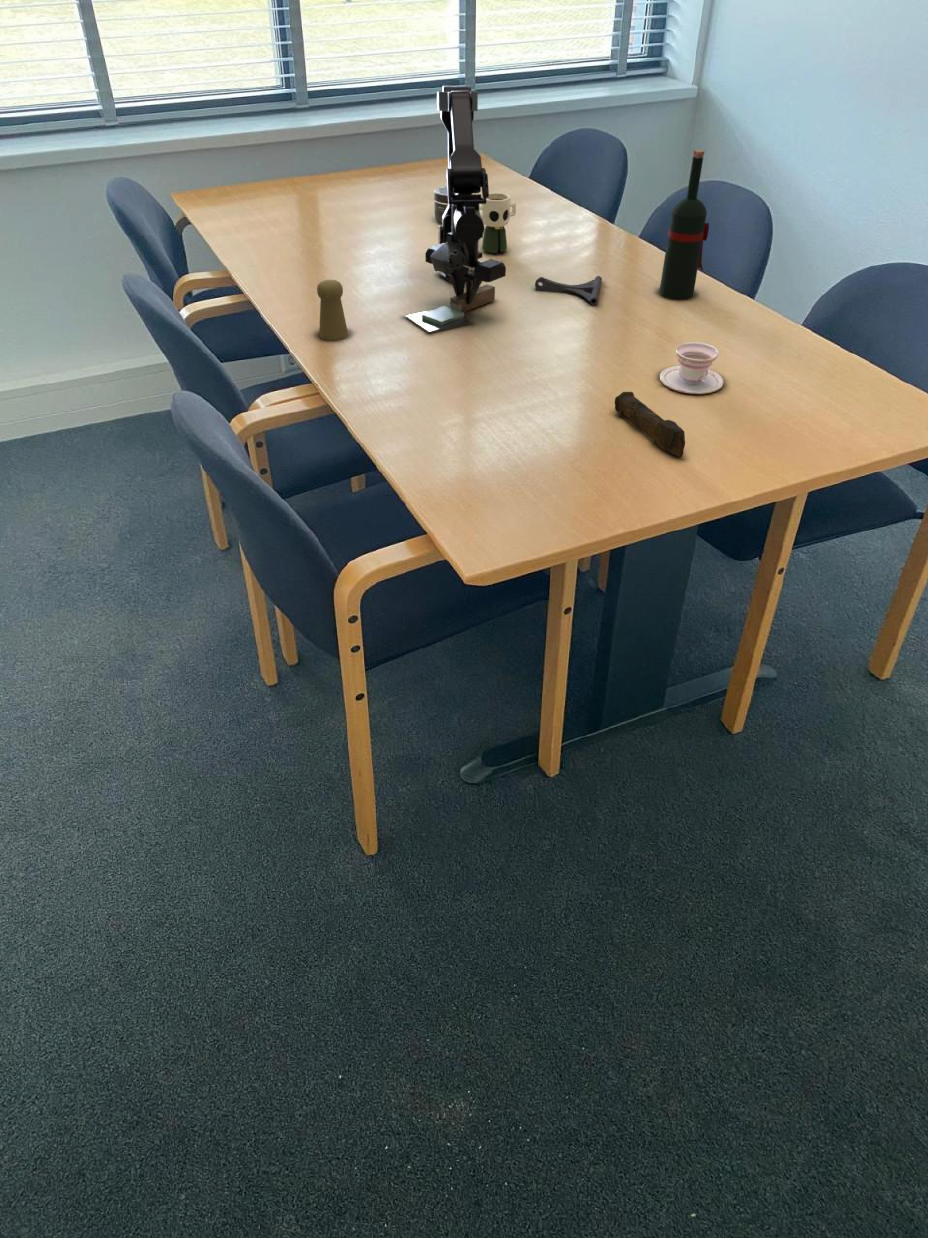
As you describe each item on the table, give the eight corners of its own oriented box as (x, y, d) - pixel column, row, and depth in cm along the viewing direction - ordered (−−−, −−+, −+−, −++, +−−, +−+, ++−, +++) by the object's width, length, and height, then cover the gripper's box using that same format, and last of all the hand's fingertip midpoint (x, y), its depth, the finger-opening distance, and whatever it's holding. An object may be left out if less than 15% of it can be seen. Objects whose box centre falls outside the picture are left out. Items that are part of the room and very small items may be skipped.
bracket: (538, 278, 218) (539, 266, 216) (601, 282, 215) (602, 270, 214) (531, 300, 207) (531, 288, 205) (596, 305, 205) (598, 293, 203)
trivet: (405, 317, 198) (405, 315, 198) (445, 308, 202) (445, 306, 202) (429, 333, 192) (429, 331, 191) (469, 324, 196) (469, 321, 195)
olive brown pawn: (352, 331, 192) (349, 278, 185) (340, 342, 188) (336, 288, 181) (326, 327, 194) (322, 274, 187) (314, 337, 189) (308, 284, 182)
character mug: (479, 257, 228) (480, 202, 220) (469, 248, 233) (469, 194, 225) (519, 252, 231) (522, 198, 223) (508, 244, 236) (510, 190, 228)
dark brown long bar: (611, 412, 165) (614, 388, 162) (631, 408, 166) (634, 385, 163) (666, 463, 152) (670, 438, 149) (687, 458, 153) (692, 433, 150)
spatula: (480, 295, 208) (481, 281, 206) (500, 302, 205) (501, 288, 203) (421, 317, 197) (421, 303, 195) (441, 325, 194) (441, 311, 192)
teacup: (709, 401, 169) (716, 369, 165) (649, 385, 174) (654, 354, 170) (731, 377, 177) (738, 346, 173) (673, 362, 182) (678, 332, 178)
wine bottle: (708, 294, 210) (734, 151, 191) (673, 302, 207) (696, 157, 187) (686, 283, 216) (709, 143, 196) (652, 290, 212) (672, 148, 193)
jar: (477, 218, 253) (477, 189, 248) (457, 228, 246) (458, 197, 241) (447, 212, 257) (447, 183, 252) (427, 221, 250) (426, 191, 245)
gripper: (406, 226, 190) (408, 300, 200) (472, 247, 181) (470, 324, 191) (443, 214, 197) (443, 287, 207) (509, 234, 187) (505, 309, 197)
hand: (464, 302), depth 200 cm, fingers closed on spatula, 2 cm apart
